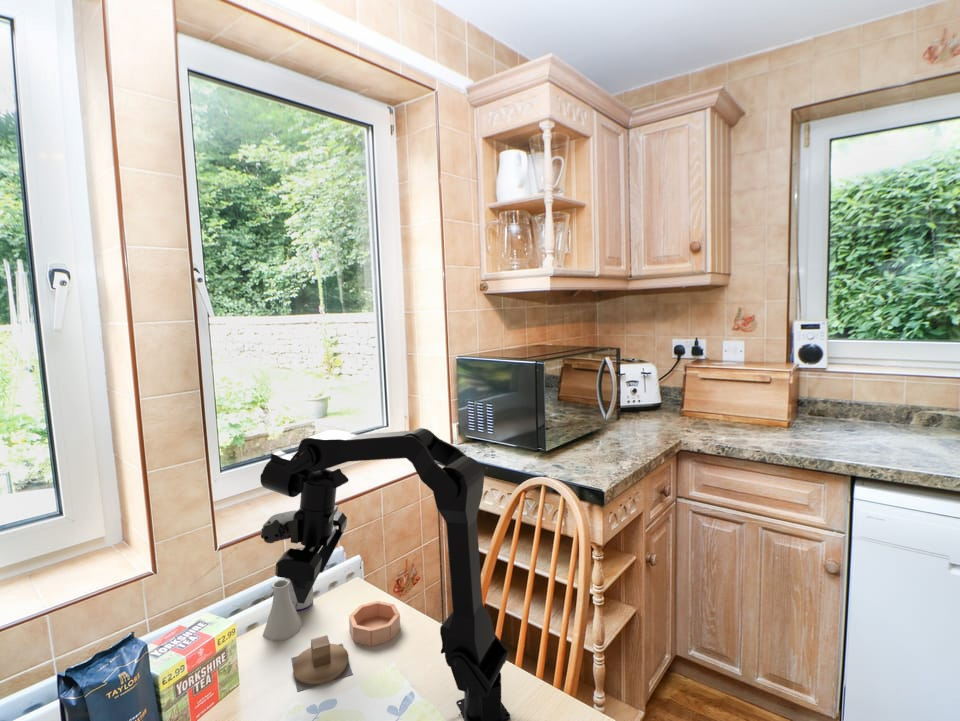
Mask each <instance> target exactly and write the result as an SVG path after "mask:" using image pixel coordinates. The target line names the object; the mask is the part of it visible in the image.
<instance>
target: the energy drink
mask: <svg viewBox="0 0 960 721" xmlns="http://www.w3.org/2000/svg"><path fill="white" fill-rule="evenodd" d="M303 548H304V547H294V548H293V549H299V550H303ZM284 579H286V580H288V581H290V579H289V578H284ZM288 587H289V594H290V598H291V601H292V603H293V605H294V607H295V609H296V611H297V613H298V614H299V613H302V612H306V611H308V610H309V609H311V608H312V607H313V605H314V589H313V588H314V586H313V587H312V589H311V591H310V593H309V595H308V597H307V599H306V601H305V602H304V603H303V604H302V603H298V602H297V599H296V595H295V592H294V589H293V586H292V583H291V581H290V584H289V586H288Z"/></svg>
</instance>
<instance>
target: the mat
mask: <svg viewBox="0 0 960 721" xmlns="http://www.w3.org/2000/svg"><path fill="white" fill-rule="evenodd" d="M338 645H340V646H342V647H344V643H338ZM298 656H299V655H297V656H294V657H291V658H290V659H291V665H292V667H293V664H294V661H295V659H296V658H297V657H298ZM353 675H354V674H353V671H352V667H351V664H350V662H349V663H348V667H347V669H346V670H345V672H344V673H343V674H342V675H341V676H339V677H338V678H336V679H335V680H333V681H331V682H334V681H337V680H341V679H344V678H347V677H350V676H353ZM294 682H295V687H296V691H297V693H299V692H303V691H305V690H309V689H312V688H316V687H318V686H321V685H322V686H323V684H321V685H305V684H302V683H300V682H298V681H297V680H296V679H295V678H294ZM331 682H330V683H331Z"/></svg>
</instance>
